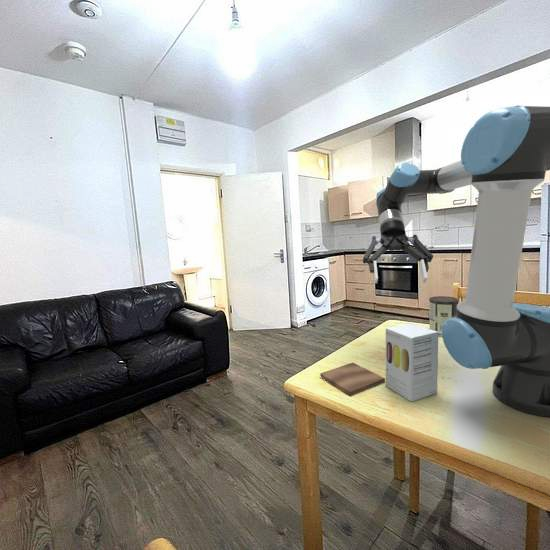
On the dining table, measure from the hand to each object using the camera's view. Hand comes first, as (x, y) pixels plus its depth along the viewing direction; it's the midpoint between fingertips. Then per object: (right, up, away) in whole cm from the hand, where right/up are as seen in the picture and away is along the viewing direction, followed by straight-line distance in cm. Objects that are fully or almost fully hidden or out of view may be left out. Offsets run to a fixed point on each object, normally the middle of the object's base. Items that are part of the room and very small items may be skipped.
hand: (400, 280), depth 88 cm
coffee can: (+31, -22, +32) cm, 50 cm away
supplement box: (0, -29, -8) cm, 30 cm away
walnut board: (-15, -29, 0) cm, 32 cm away
